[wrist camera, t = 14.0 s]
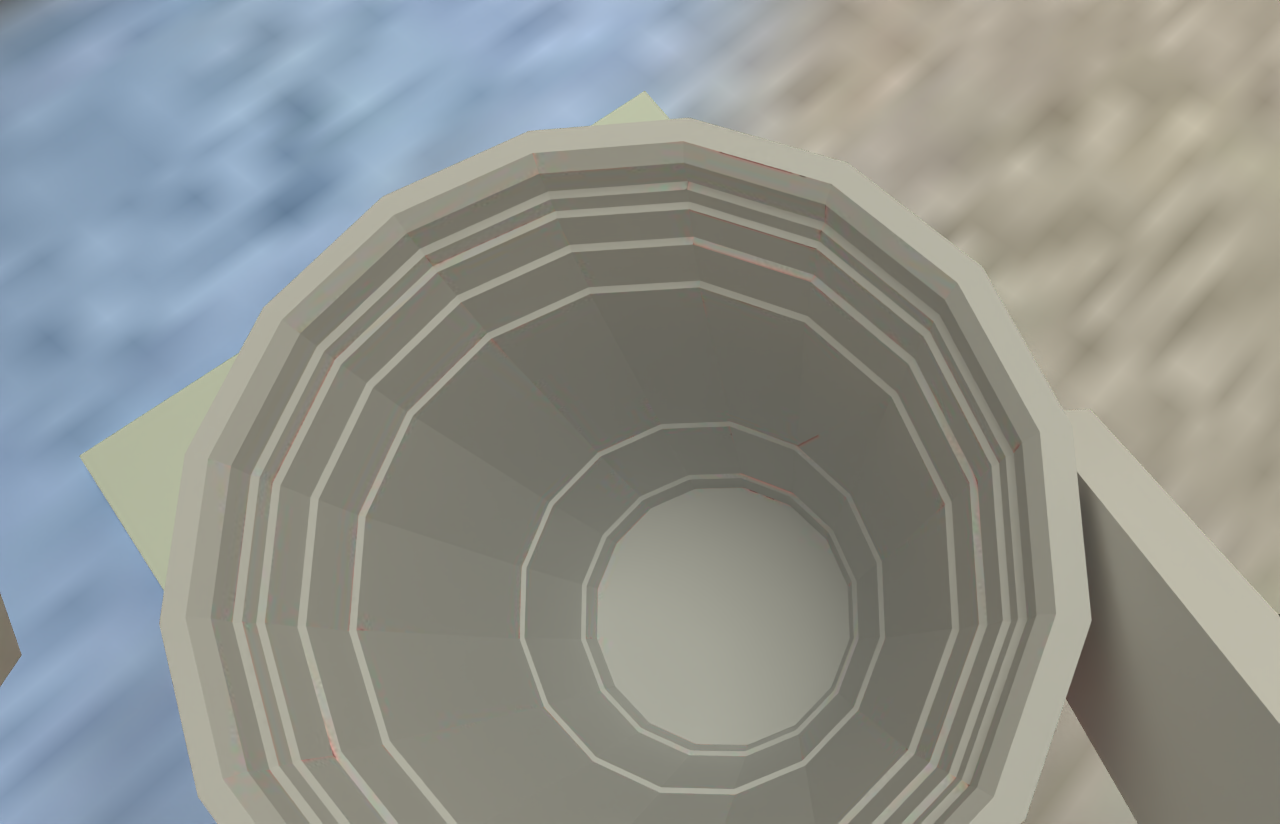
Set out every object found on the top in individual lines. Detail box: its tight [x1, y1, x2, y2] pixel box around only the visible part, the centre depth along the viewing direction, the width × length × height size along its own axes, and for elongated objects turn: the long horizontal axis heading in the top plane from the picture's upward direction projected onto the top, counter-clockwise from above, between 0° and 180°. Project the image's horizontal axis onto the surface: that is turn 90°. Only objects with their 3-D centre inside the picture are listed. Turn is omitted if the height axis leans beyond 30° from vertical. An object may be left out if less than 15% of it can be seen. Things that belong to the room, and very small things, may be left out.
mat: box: [80, 91, 669, 590], centre depth 26 cm, size 16×16×1 cm
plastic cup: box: [159, 118, 1092, 824], centre depth 18 cm, size 11×11×12 cm
